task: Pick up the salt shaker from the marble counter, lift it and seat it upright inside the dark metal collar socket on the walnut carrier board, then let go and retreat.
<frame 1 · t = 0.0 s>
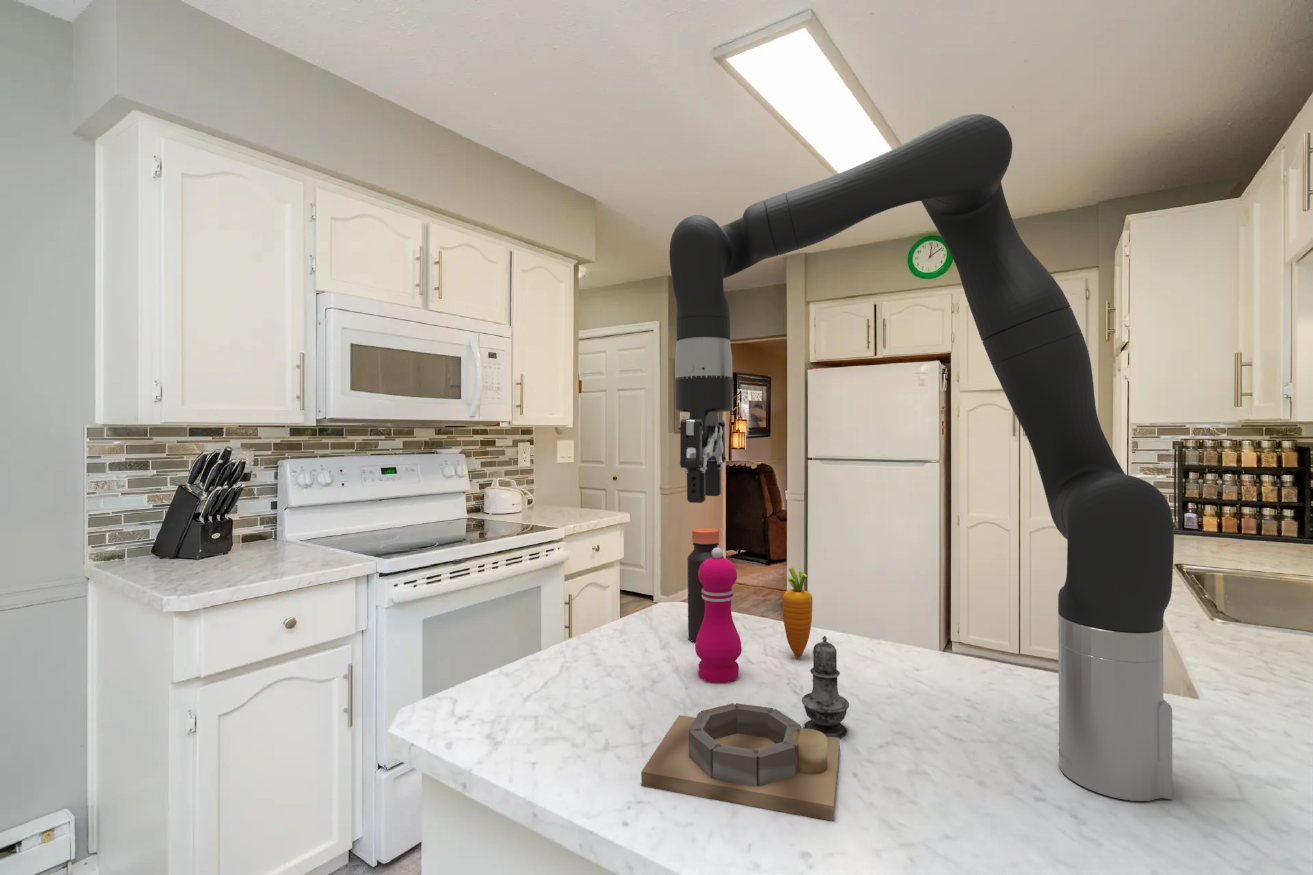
hand: (704, 498, 82), 29 cm above the counter, fingers open, 8 cm apart
bottle: (706, 639, 114), on the counter
pepper mill: (718, 676, 97), on the counter
carrot: (798, 659, 104), on the counter
carrier board: (745, 767, 71), on the counter
salt shaker: (825, 730, 79), on the counter
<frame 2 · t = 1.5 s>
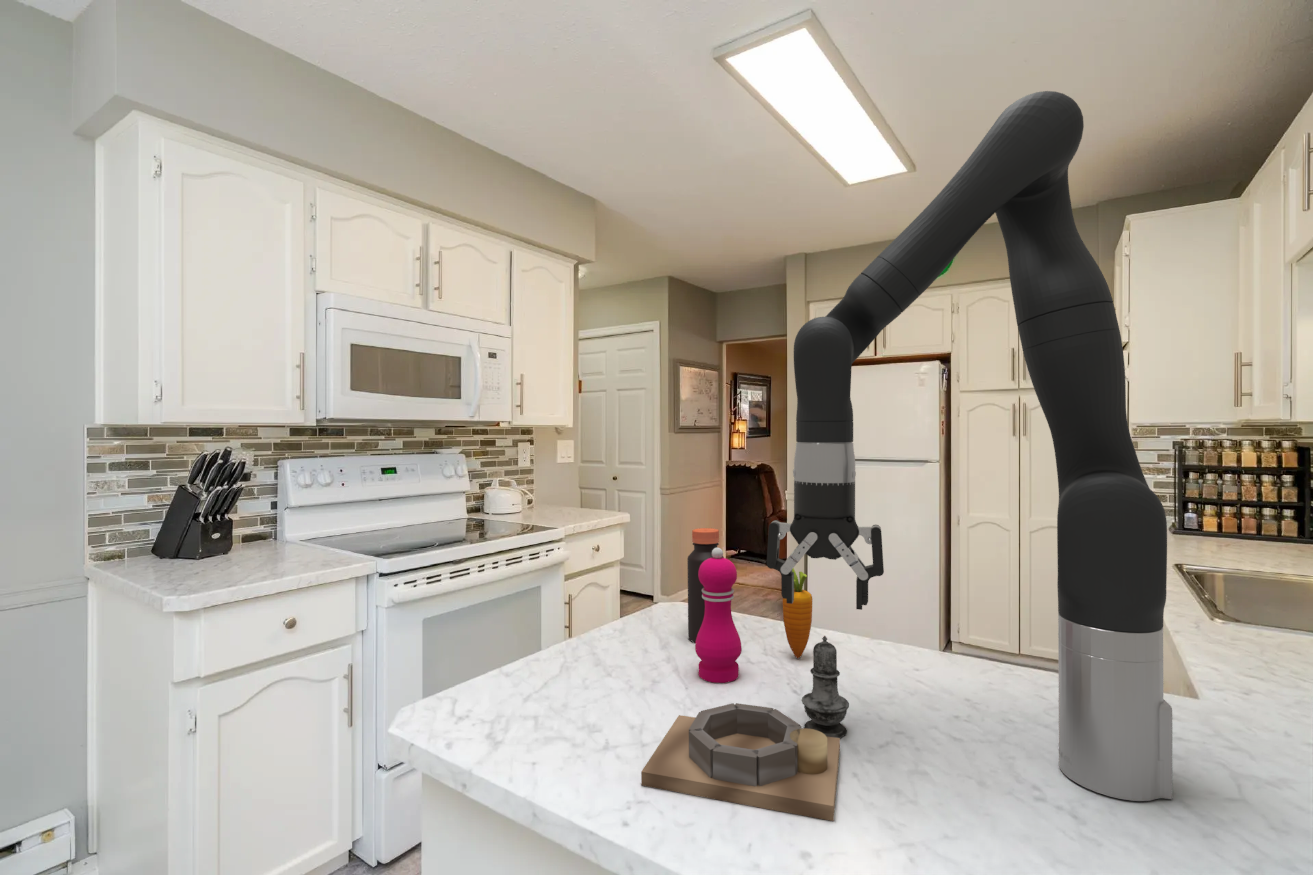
hand: (824, 604, 79), 16 cm above the counter, fingers open, 8 cm apart
nothing on the counter moved.
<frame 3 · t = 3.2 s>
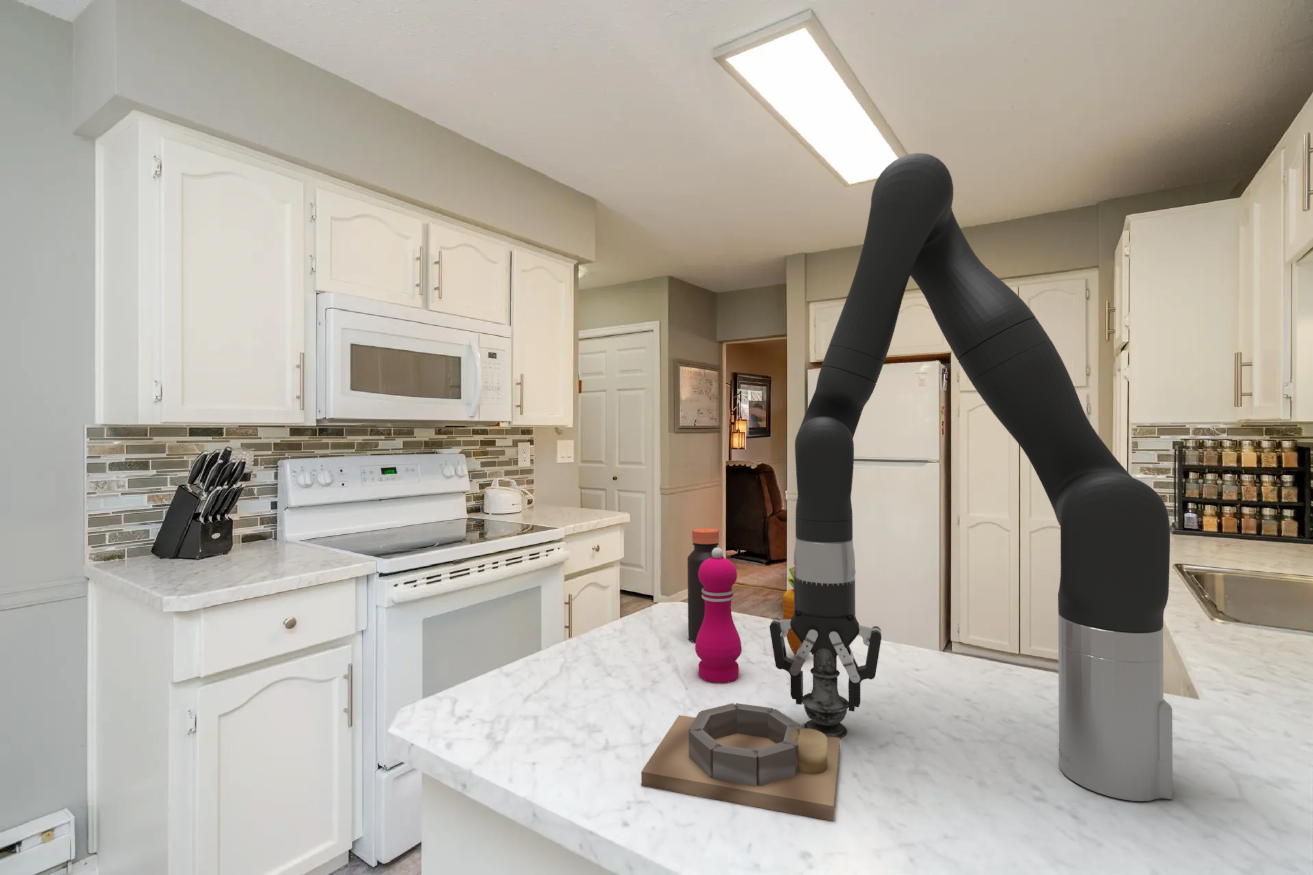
hand: (825, 704, 79), 3 cm above the counter, fingers closed on salt shaker, 6 cm apart
salt shaker: (825, 730, 79), on the counter, touching gripper
everything else where it was.
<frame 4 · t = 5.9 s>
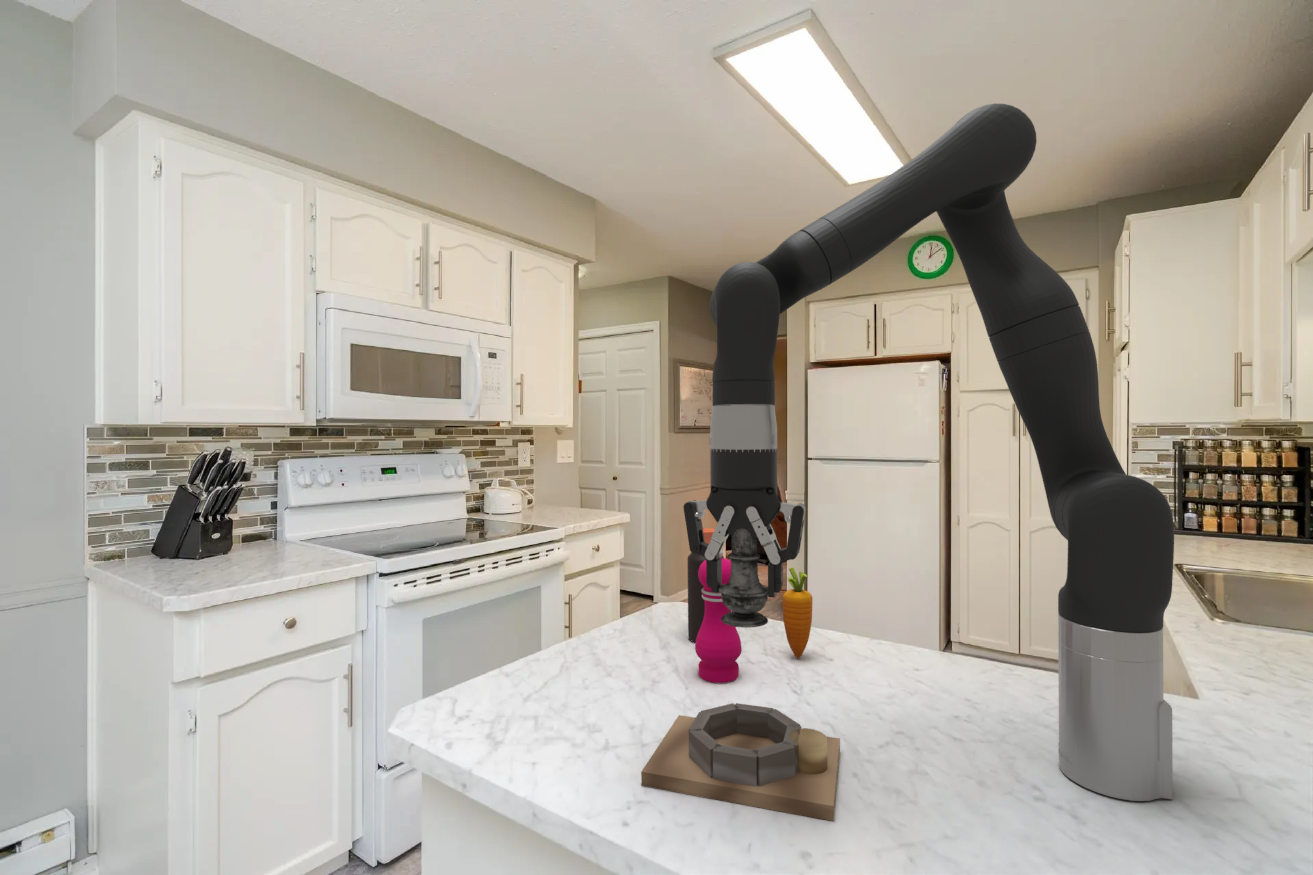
hand: (744, 592, 71), 20 cm above the counter, fingers closed on salt shaker, 6 cm apart
salt shaker: (744, 621, 71), point 16 cm above the counter, touching gripper
everything else where it was.
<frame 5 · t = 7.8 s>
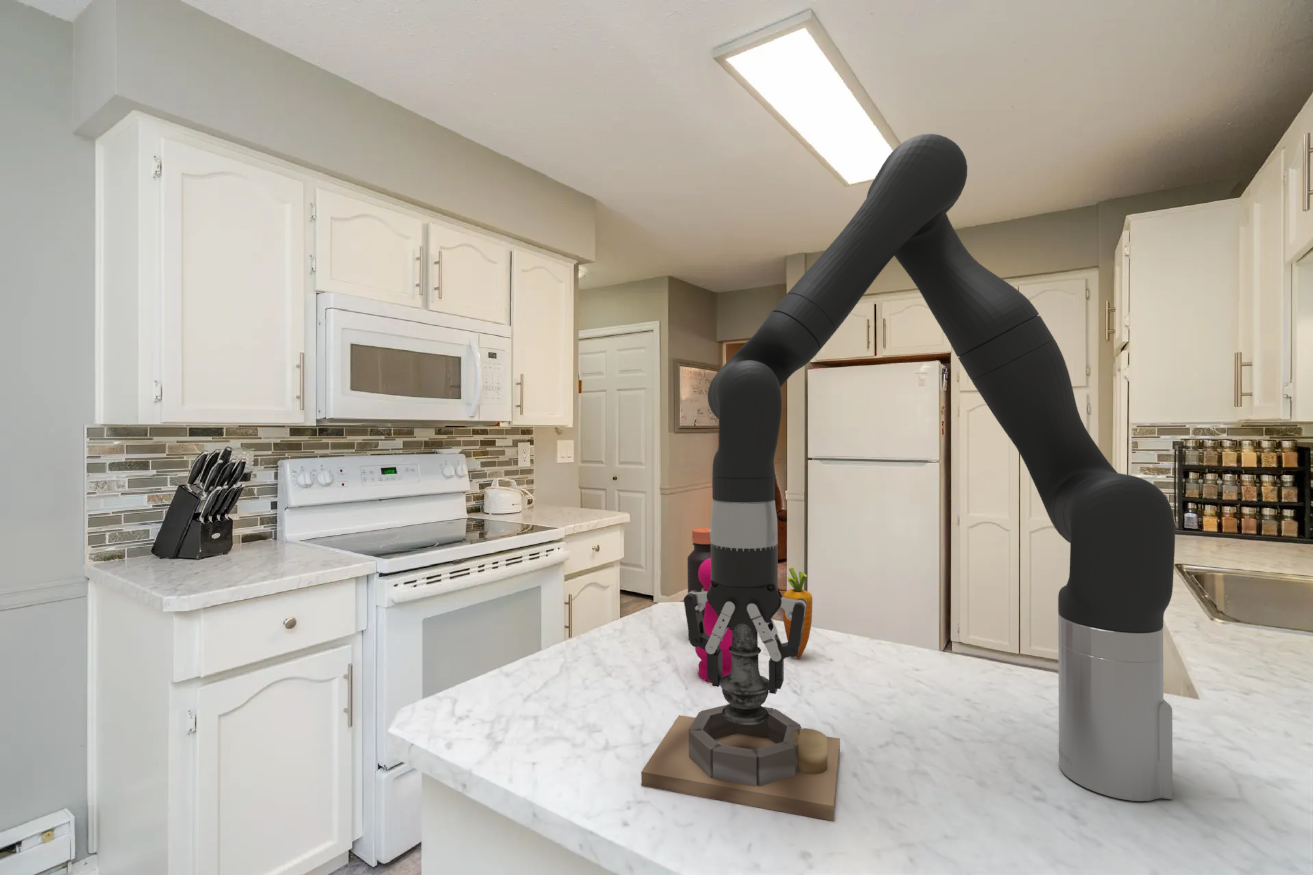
hand: (744, 686, 71), 9 cm above the counter, fingers closed on salt shaker, 6 cm apart
salt shaker: (745, 715, 71), point 6 cm above the counter, touching gripper
everything else where it was.
when the fingers open (6 cm above the counter, at t = 9.0 s): salt shaker drops 1 cm, resting on carrier board.
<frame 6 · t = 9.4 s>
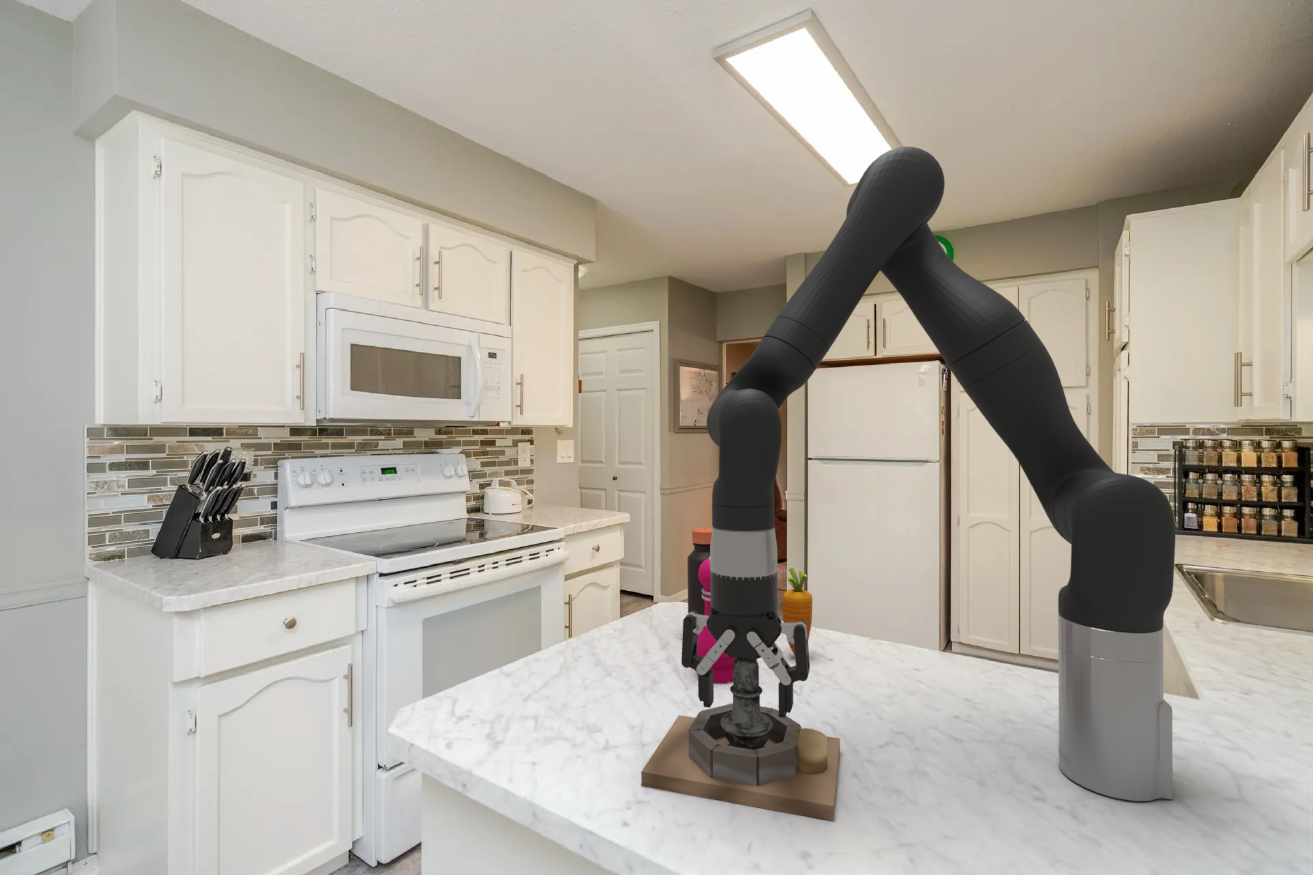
hand: (744, 709, 70), 7 cm above the counter, fingers open, 8 cm apart
salt shaker: (746, 755, 70), point 1 cm above the counter, touching carrier board
everything else where it was.
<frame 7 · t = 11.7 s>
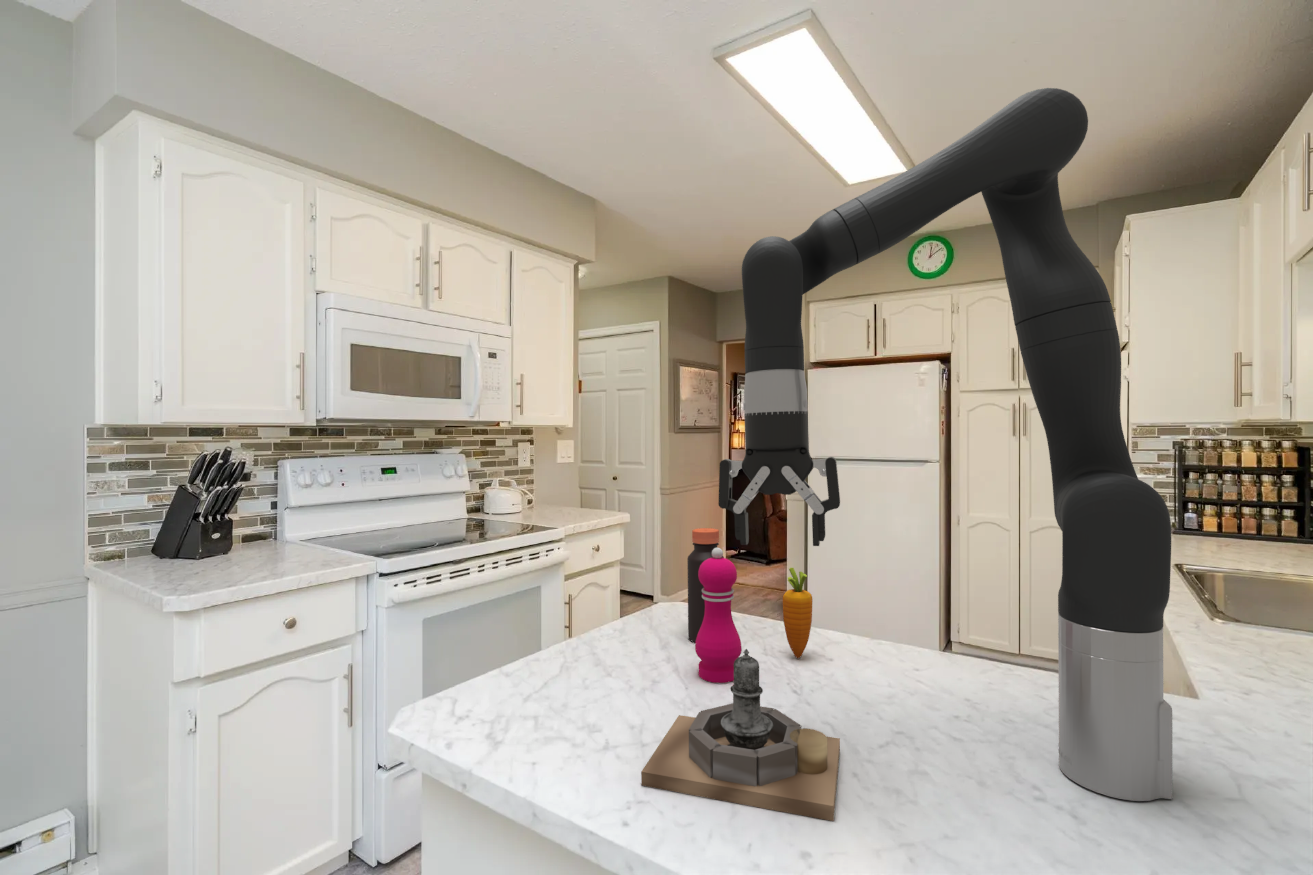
hand: (779, 544, 75), 24 cm above the counter, fingers open, 8 cm apart
nothing on the counter moved.
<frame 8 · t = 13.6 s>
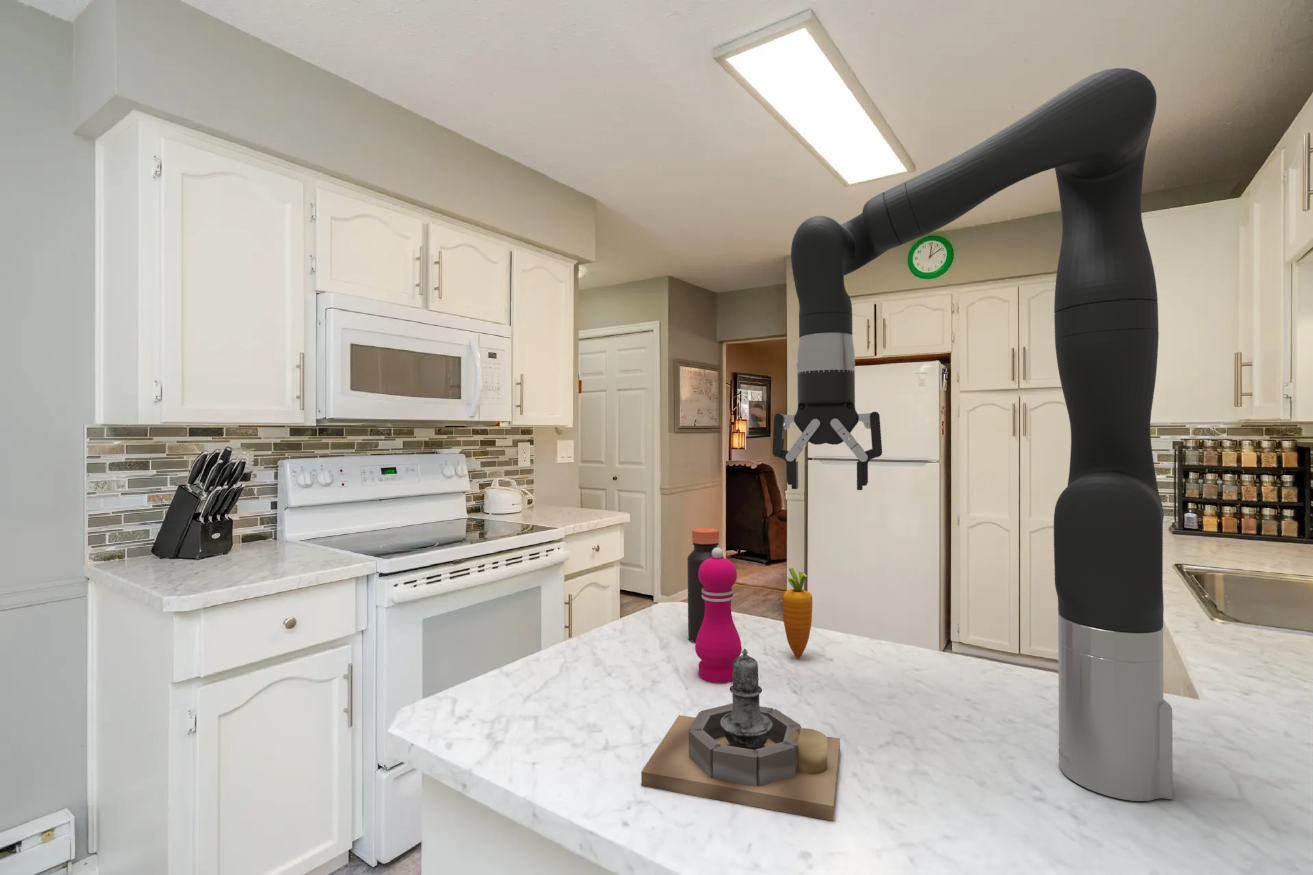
hand: (826, 489, 85), 30 cm above the counter, fingers open, 8 cm apart
nothing on the counter moved.
at the end: salt shaker 0.2 cm off-centre on the carrier board, point 1.3 cm above the carrier board's base; salt shaker tilted 1°; the gripper is holding nothing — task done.
